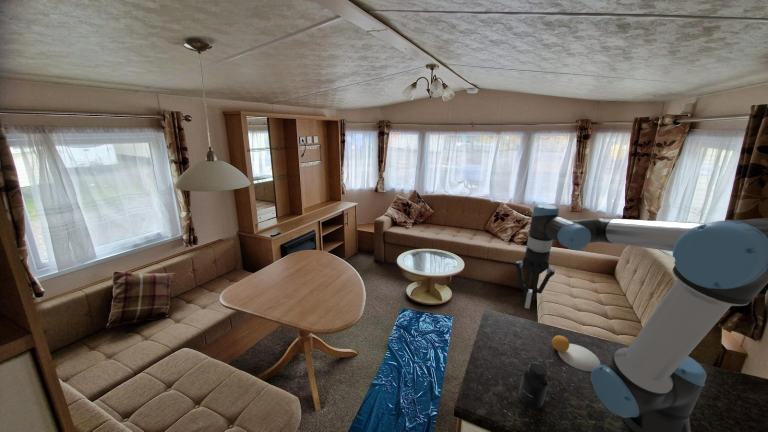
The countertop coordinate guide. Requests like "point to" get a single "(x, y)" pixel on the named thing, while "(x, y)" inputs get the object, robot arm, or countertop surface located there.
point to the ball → (560, 343)
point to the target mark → (580, 358)
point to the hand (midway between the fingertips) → (527, 306)
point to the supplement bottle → (533, 385)
